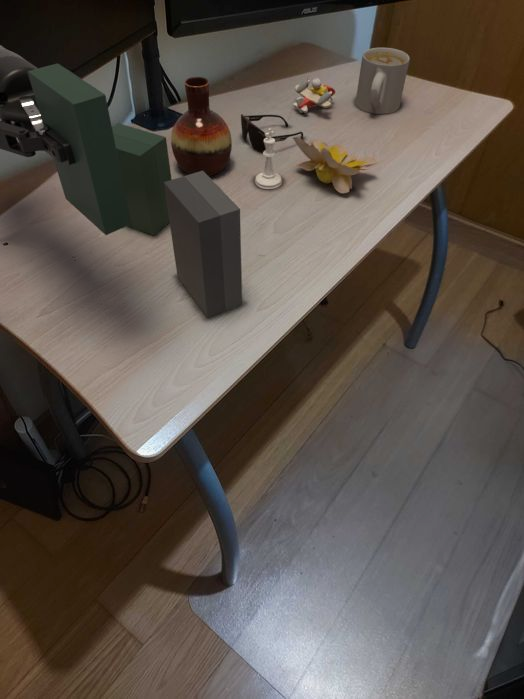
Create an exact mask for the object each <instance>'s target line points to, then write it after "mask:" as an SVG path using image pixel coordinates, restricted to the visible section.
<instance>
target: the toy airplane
mask: <svg viewBox="0 0 524 699" xmlns="http://www.w3.org/2000/svg"><path fill="white" fill-rule="evenodd" d="M310 83H311V88H310V90H309V89H308V88H309V85H310ZM294 90H295V92H296V93H297V94H299V95H300V96H299V97H297V98H296V99H295V101H296V102H293V107H294V108H296V109H297V110H298V112H299V113H300V114H302V113H304V114H307V113H308V112H309V108H313V107H315V106H319V107H322V108H324V109H330V108H331V107H332V105H333V104H332V102H333V101H334V99H333V96H334V95H335V94H336V90H335V89H334V88H333V87H331V86H330V85H327V84H322V81H321V79H320V78H318V77H317V78H314V79H313V80H312V81H311V80H310V79H309V77H307V80H306V79H305V80H303V81H302V82H301V83H300V84H296V85H295V86H294ZM329 100H330V101H329ZM331 101H332V102H331Z"/></svg>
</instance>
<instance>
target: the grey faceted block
mask: <svg viewBox="0 0 524 699" xmlns="http://www.w3.org/2000/svg"><path fill="white" fill-rule="evenodd" d="M164 188H165V195H166V201H167V208H168V215H169V228H170V235H171V241H172V242H171V243H172V249H173V256H174V261H175V268H176V276H177V279H178V280H179V281H180V283H181V284H182V285H183V287H184V288H185V289H186V291H187V292H188V294H189V296H190V297H192V299H193V300H194V302H195V303H196V305H197V306H198V307H199V309H200V311H202V313H203V315H205V317H206V318H207V319H209V318H211V317H214V316H217V315H219V314H221V313H224V312H226V311H229V310H232V309H234V308H237V307H240V306H242V305H243V283H242V282H243V279H242V278H243V277H242V238H241V237H242V236H241V235H242V234H241V232H242V230H241V209H240V207H239V206H238V205H237V204H236V203H235V202H234V201H233V200H232V199H231V198H230V197H229V196H228V195H227V194H226V192H224V191H223V189H221V187H219V186H218V184H216V182H215V181H213V179H212V178H211V176H208V175H207V174H206V173H205V172H204V171H200V172H197V173H193V174H187V175H184V176H180V177H176V178H173V179H172V180H169V181H166V182H164Z"/></svg>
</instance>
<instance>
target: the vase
mask: <svg viewBox="0 0 524 699" xmlns="http://www.w3.org/2000/svg"><path fill="white" fill-rule="evenodd" d="M184 89H185V94H186V101H187V110H186V111H185V112H183V113H182V114H181V115H180V116H179V117H178V118H177V120H176V121H175V122H174V125H173V127H172V130H171V134H170V135H171V136H170V144H171V150H172V154H173V156H174V159H175V161H176V163H177V164H178V166H179V167H180V168H181V170H183V171H184V172H186V173H187V174H188V175H190V174H193V173H197V172H200V171H204V172H205V173H206V174H207V175H208V176H209V177H211V176H214V175H217V174H219V173H220V172H221V171H223V170H224V169H225V167H226V166H227V164H228V163H229V161H230V157H231V153H232V148H233V142H232V134H231V131H230V128H229V126H228V124H227V122H226V121H225V120H224V119H223V117H222V116H221V115H219V114H218V113H217V112H216V111H214V110H211V108H210V81H209V79H208V78H206V77H203V76H190V77H188V78H187V79H185V80H184Z"/></svg>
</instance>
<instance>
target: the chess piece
mask: <svg viewBox="0 0 524 699" xmlns="http://www.w3.org/2000/svg"><path fill="white" fill-rule="evenodd" d="M264 133H265V136H266V137H267V138H265V139H264V144H265V148H266V150H265V151H264V152H262V155H263V156H264V157H265V164H264V170H263V171H262V172H260V173H258V174H256V176H255V179H254V182H255V185H256V186H257V187H259V188H260V189H264V190H274V189H276V188H279V187H280V186H281V185H282V184H283V180H282V176H281V175H280V174H279V173H277V172H274V167H273V157H274V156H275V155H276V152H275V150H273V149H274V146H275V143H276V142H275V139H274V138H271V137H272V136H274V135H275V131H274V130H272V128H271V127H269V128H267V132H264Z"/></svg>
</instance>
